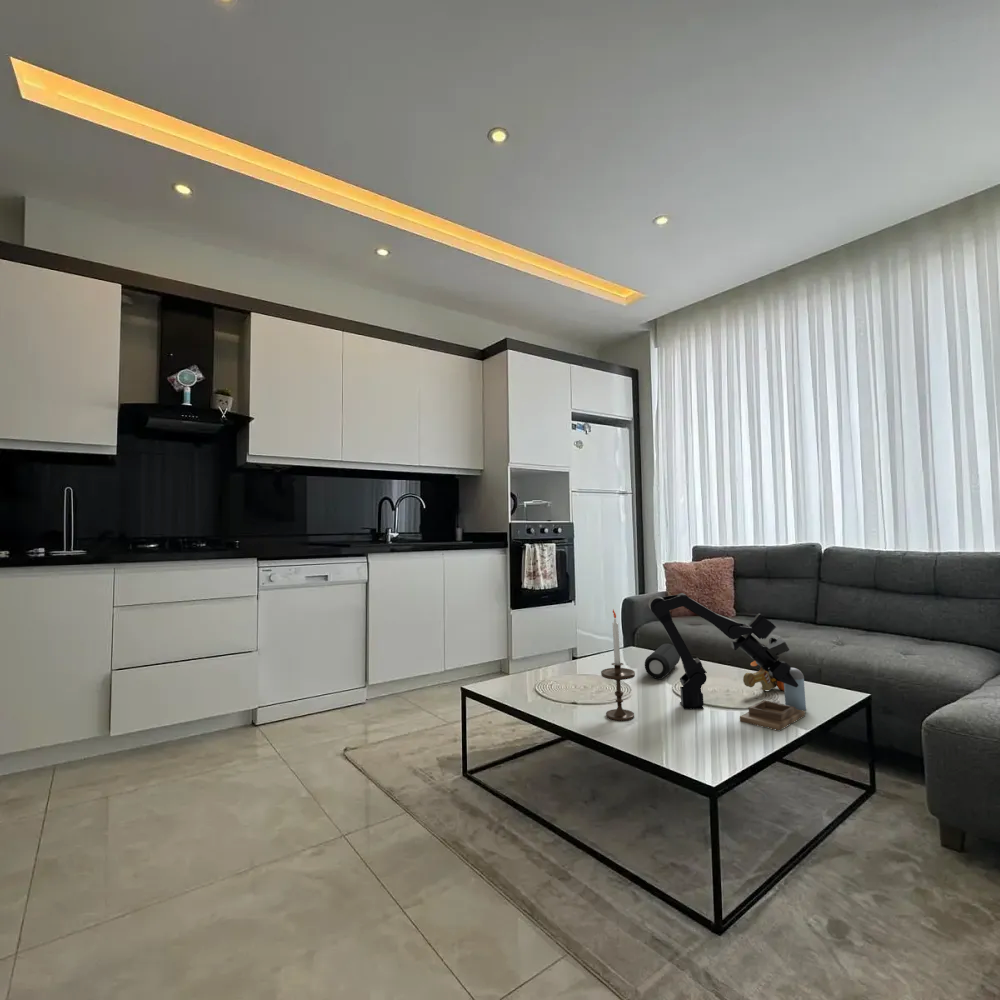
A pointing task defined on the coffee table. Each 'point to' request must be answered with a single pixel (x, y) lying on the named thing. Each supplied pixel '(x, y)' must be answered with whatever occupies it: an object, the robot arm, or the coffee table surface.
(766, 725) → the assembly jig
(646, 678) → the coffee table surface
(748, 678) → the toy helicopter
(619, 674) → the candlestick
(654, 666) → the portable speaker
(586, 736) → the coffee table surface
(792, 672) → the blue grey domed cylinder
